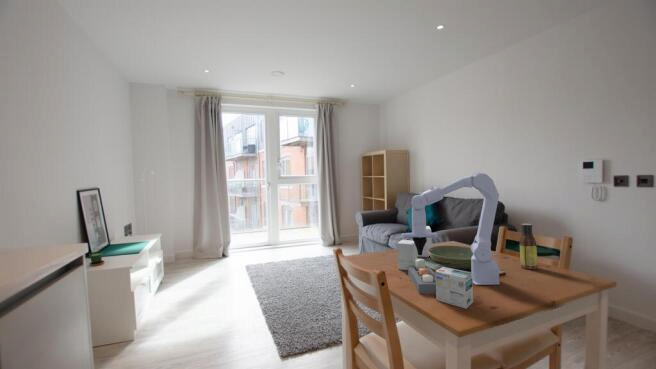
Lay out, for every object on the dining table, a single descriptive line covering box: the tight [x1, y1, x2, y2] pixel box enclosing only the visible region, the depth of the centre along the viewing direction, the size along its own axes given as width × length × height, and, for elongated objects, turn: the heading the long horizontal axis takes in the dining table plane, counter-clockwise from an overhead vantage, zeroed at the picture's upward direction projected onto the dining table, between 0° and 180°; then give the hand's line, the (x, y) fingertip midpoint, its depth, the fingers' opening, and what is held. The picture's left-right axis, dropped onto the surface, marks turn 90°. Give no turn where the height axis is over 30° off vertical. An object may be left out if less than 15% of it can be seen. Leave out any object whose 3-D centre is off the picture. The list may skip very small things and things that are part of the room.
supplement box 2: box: [417, 225, 433, 258], centre depth 158 cm, size 9×9×15 cm
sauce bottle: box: [519, 223, 538, 270], centre depth 131 cm, size 7×6×20 cm
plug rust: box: [419, 268, 429, 276], centre depth 120 cm, size 4×4×5 cm
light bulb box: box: [434, 266, 474, 309], centre depth 102 cm, size 11×7×11 cm, turn 45°
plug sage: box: [416, 258, 426, 271], centre depth 126 cm, size 4×4×5 cm
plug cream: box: [423, 274, 433, 282], centre depth 114 cm, size 4×4×5 cm
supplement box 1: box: [396, 239, 418, 271], centre depth 139 cm, size 7×7×13 cm
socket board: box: [407, 265, 436, 295], centre depth 120 cm, size 9×21×4 cm, turn 176°
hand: (419, 254), depth 126 cm, fingers closed
